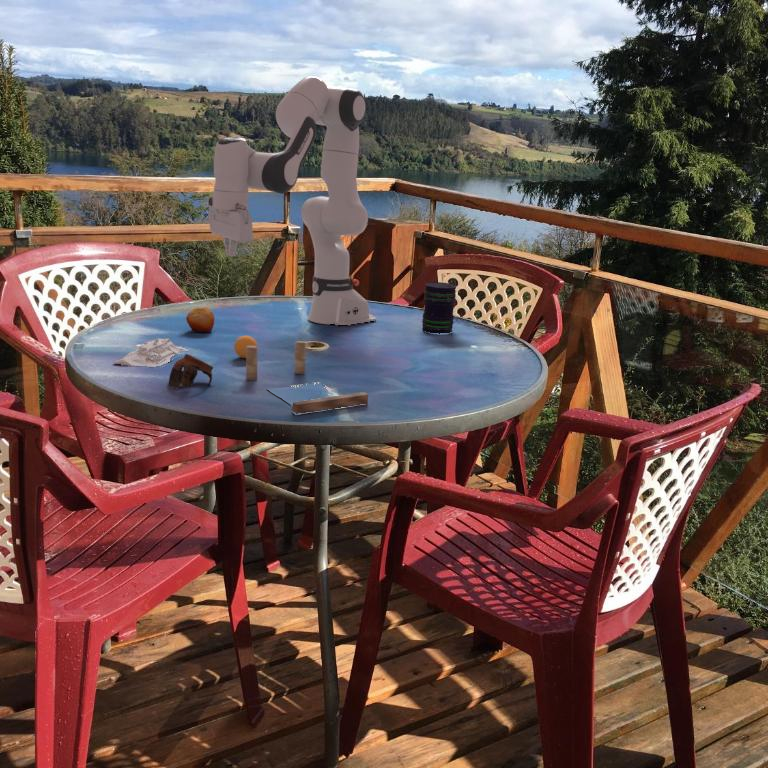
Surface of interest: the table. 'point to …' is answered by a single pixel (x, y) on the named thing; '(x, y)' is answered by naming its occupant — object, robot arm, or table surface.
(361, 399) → the stopper wall
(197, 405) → the table surface
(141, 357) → the terrain model
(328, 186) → the robot arm
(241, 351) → the ball
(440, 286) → the storage jar
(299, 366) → the post
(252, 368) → the post
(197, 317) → the fruit
